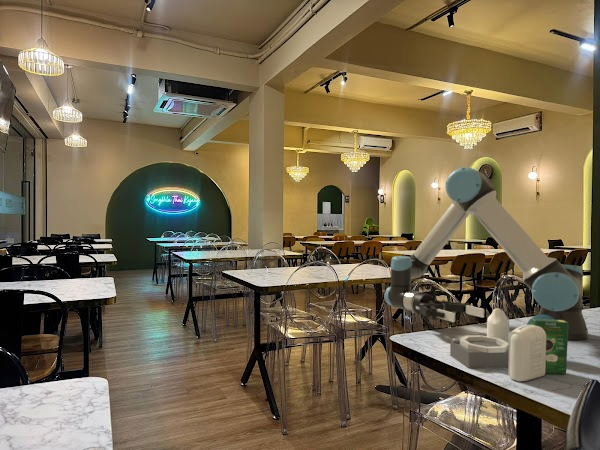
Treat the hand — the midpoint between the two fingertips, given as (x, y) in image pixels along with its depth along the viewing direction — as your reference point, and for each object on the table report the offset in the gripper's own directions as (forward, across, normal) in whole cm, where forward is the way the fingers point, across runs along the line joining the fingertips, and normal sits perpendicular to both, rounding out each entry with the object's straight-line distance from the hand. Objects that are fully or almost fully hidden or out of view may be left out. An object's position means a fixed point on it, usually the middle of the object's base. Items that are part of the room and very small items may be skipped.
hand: (469, 315), depth 132 cm
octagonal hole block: (+15, +13, -8) cm, 21 cm away
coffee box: (+28, +6, -8) cm, 30 cm away
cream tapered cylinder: (+10, 0, -8) cm, 13 cm away
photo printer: (+28, +14, -8) cm, 32 cm away
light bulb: (+22, -3, -8) cm, 23 cm away
